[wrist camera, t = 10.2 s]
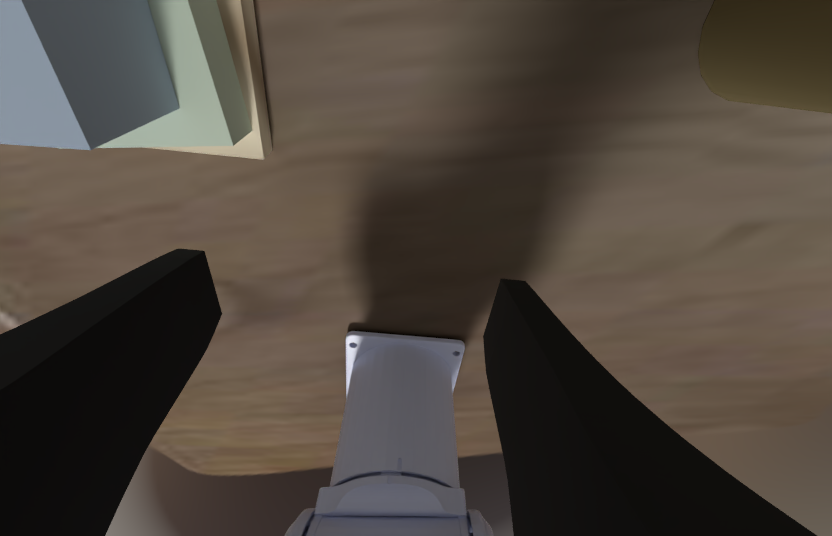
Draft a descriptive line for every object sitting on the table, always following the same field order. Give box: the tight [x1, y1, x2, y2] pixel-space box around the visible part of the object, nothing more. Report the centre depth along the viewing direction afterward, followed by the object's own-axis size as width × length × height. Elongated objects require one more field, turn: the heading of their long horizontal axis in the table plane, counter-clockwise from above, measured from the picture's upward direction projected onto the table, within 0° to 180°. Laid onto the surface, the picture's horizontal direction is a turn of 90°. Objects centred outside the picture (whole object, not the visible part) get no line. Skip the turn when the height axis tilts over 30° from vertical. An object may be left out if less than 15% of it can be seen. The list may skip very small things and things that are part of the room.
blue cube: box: [0, 0, 179, 150], centre depth 10 cm, size 4×4×4 cm
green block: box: [58, 0, 252, 149], centre depth 13 cm, size 7×7×2 cm
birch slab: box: [145, 0, 273, 160], centre depth 15 cm, size 9×9×2 cm
